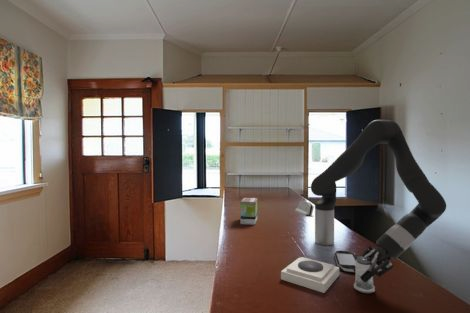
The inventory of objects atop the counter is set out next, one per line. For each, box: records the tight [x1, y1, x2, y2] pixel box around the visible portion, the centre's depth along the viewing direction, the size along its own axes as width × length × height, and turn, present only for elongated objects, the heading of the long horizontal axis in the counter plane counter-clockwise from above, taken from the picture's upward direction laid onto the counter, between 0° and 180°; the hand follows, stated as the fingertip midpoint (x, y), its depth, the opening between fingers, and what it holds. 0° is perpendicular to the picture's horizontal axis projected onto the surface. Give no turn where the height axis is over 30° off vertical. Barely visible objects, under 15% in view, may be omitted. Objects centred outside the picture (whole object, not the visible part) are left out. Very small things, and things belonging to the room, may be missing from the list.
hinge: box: [294, 200, 315, 217], centre depth 202 cm, size 17×5×10 cm, turn 14°
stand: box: [280, 256, 340, 294], centre depth 101 cm, size 16×16×4 cm
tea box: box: [240, 197, 258, 226], centre depth 180 cm, size 15×10×15 cm
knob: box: [353, 255, 376, 294], centre depth 92 cm, size 6×6×10 cm
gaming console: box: [333, 250, 358, 274], centre depth 114 cm, size 19×9×2 cm, turn 166°
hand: (358, 275), depth 92 cm, fingers closed on knob, 5 cm apart
